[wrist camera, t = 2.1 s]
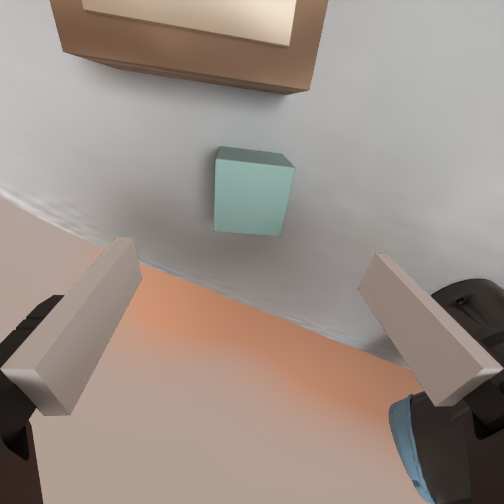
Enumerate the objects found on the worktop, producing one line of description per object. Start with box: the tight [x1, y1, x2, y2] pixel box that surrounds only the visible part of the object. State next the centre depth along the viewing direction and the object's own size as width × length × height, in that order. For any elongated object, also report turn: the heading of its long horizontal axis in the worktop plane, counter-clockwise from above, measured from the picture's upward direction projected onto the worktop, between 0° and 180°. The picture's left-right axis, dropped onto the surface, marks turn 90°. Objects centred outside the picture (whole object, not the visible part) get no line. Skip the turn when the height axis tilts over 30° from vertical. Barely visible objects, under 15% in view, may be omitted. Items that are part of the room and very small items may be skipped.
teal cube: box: [214, 146, 295, 236], centre depth 24 cm, size 7×7×7 cm
